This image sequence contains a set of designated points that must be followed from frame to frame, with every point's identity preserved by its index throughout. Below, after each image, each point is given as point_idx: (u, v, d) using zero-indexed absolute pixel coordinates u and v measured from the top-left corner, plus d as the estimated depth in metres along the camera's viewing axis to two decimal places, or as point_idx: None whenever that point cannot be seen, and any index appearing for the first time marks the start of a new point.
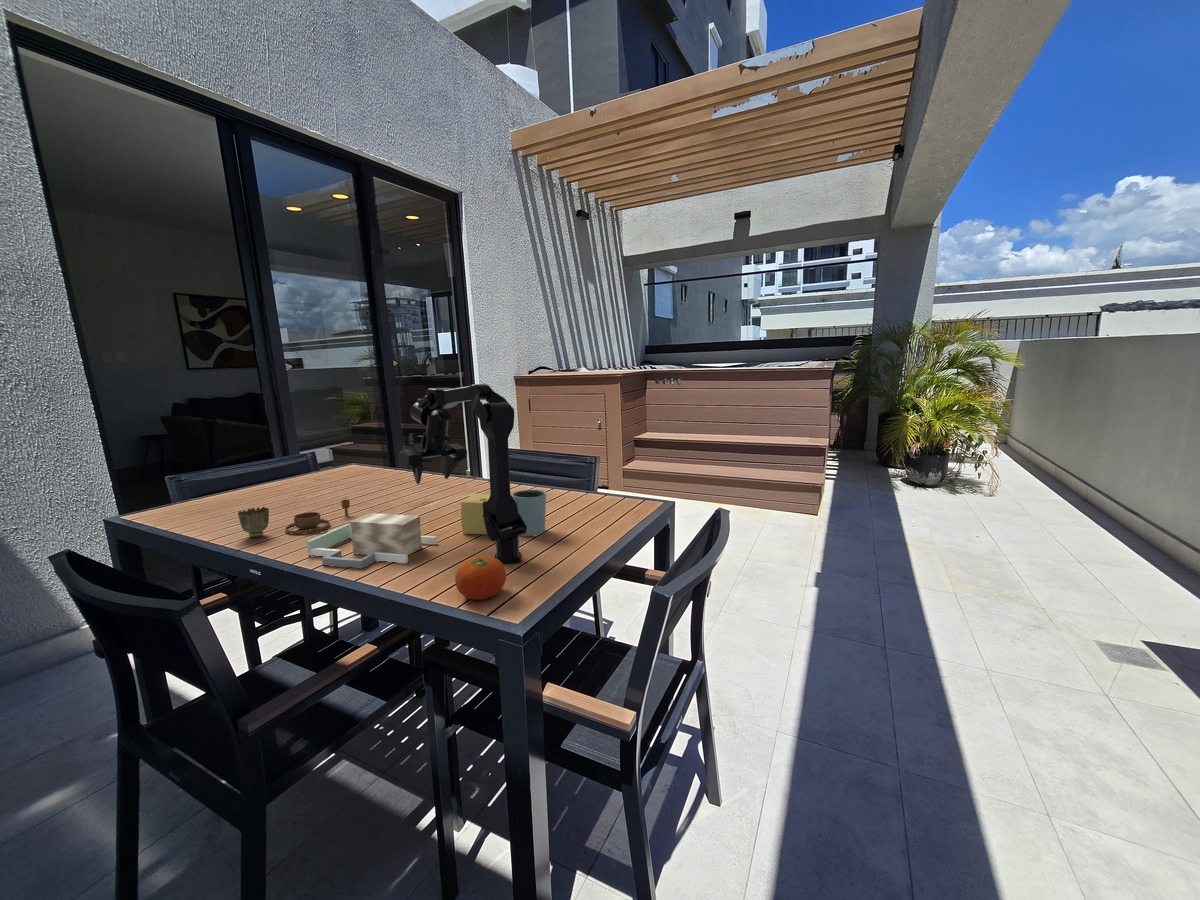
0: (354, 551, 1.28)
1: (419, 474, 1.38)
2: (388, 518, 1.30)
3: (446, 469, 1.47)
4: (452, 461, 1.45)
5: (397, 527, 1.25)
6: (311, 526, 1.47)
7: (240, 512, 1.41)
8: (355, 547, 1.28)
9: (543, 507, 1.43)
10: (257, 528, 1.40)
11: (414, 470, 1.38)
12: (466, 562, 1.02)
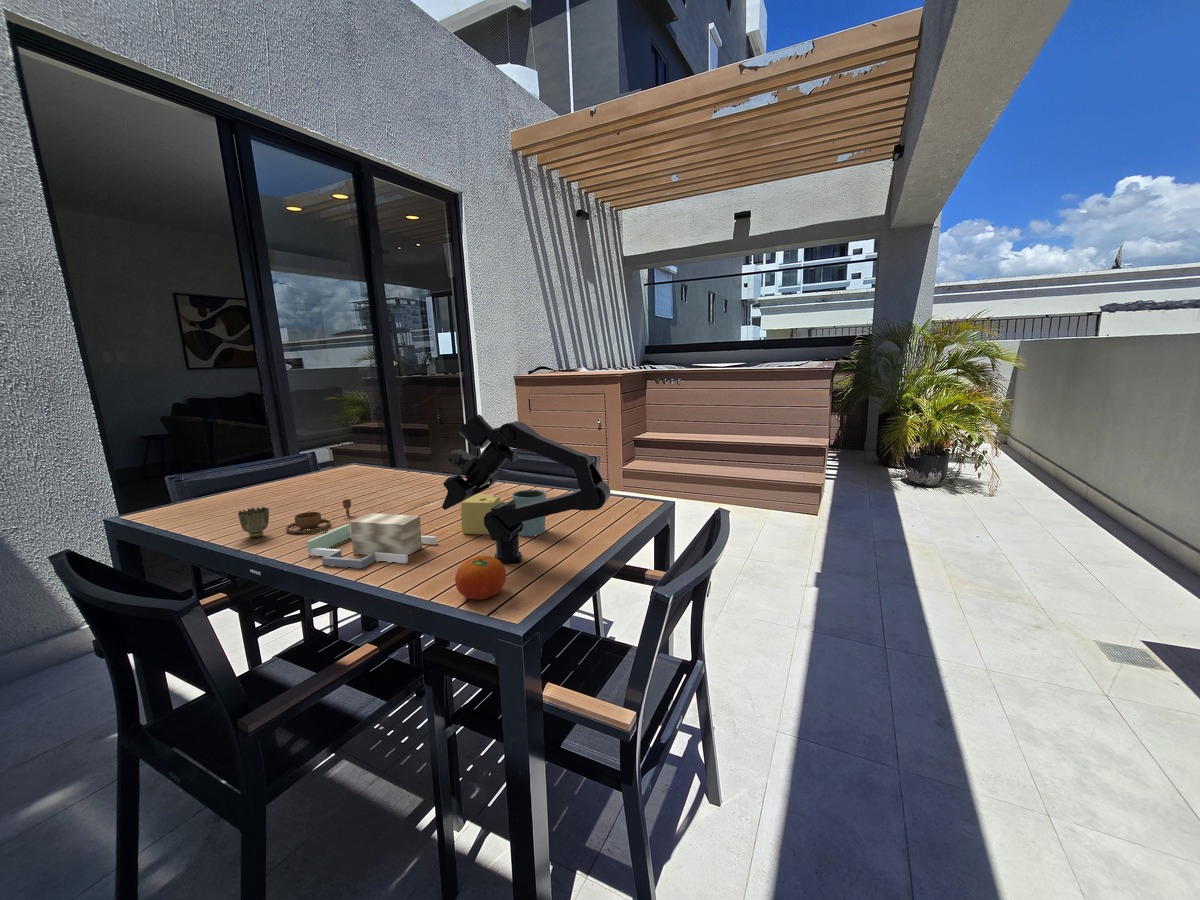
0: (354, 551, 1.28)
1: None
2: (388, 518, 1.30)
3: None
4: (480, 487, 1.29)
5: (397, 527, 1.25)
6: (312, 526, 1.48)
7: (240, 512, 1.41)
8: (355, 547, 1.28)
9: None
10: (257, 528, 1.40)
11: (450, 497, 1.19)
12: (466, 562, 1.02)
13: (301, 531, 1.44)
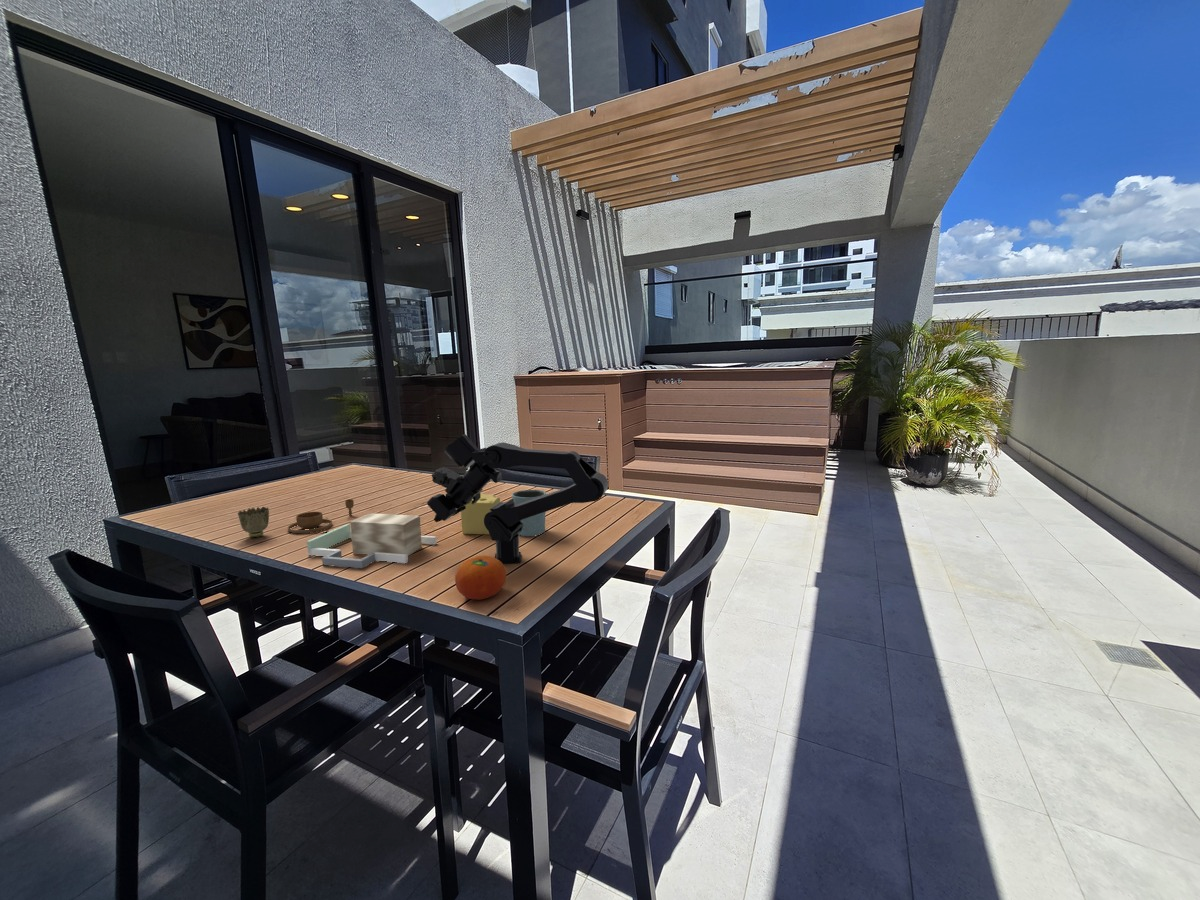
0: (354, 551, 1.28)
1: None
2: (388, 517, 1.30)
3: None
4: (456, 509, 1.26)
5: (398, 527, 1.25)
6: (313, 525, 1.48)
7: (240, 512, 1.41)
8: (355, 547, 1.28)
9: None
10: (257, 528, 1.40)
11: None
12: (466, 562, 1.02)
13: (302, 531, 1.45)
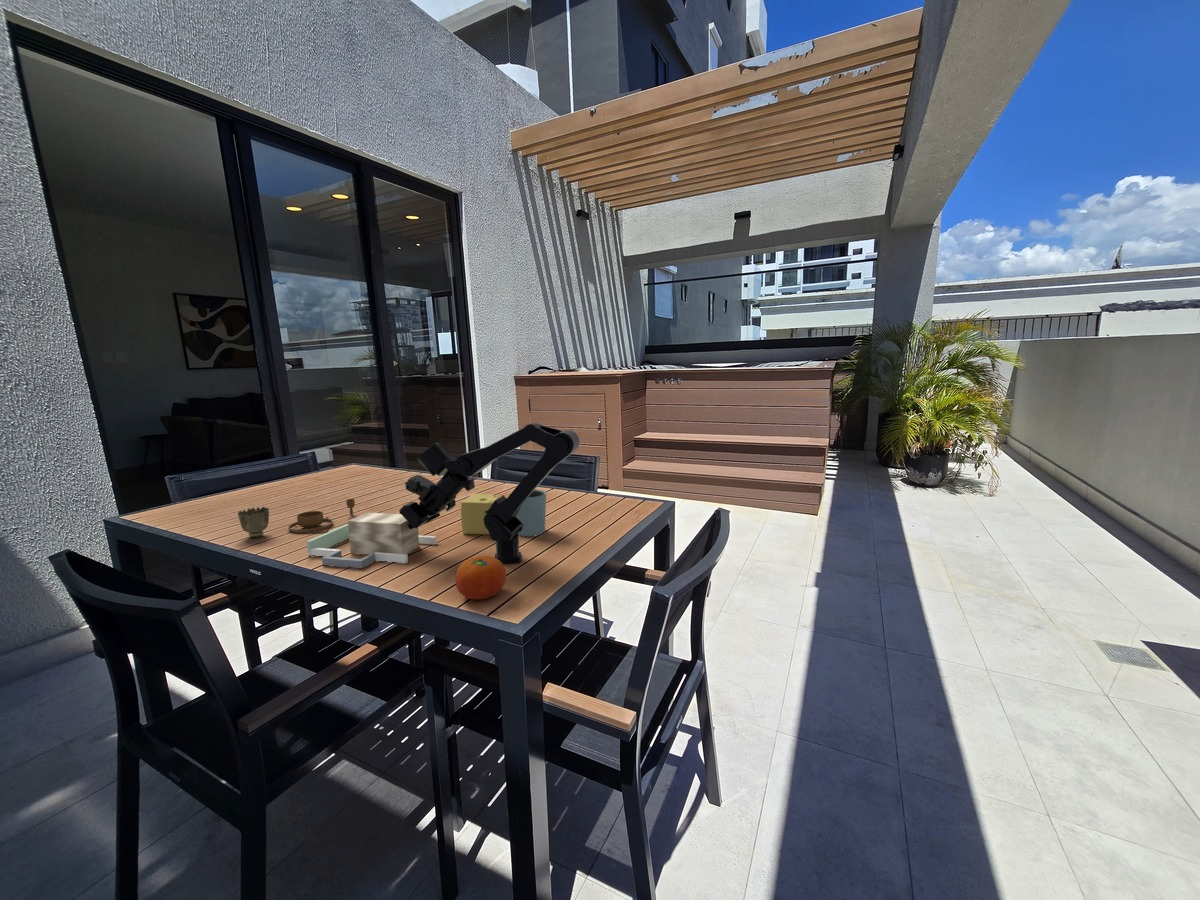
0: (351, 550, 1.28)
1: None
2: (385, 517, 1.30)
3: None
4: (430, 516, 1.28)
5: (395, 526, 1.25)
6: (313, 525, 1.48)
7: (240, 512, 1.41)
8: (352, 546, 1.28)
9: (543, 507, 1.43)
10: (257, 528, 1.40)
11: None
12: (466, 562, 1.02)
13: (302, 530, 1.45)
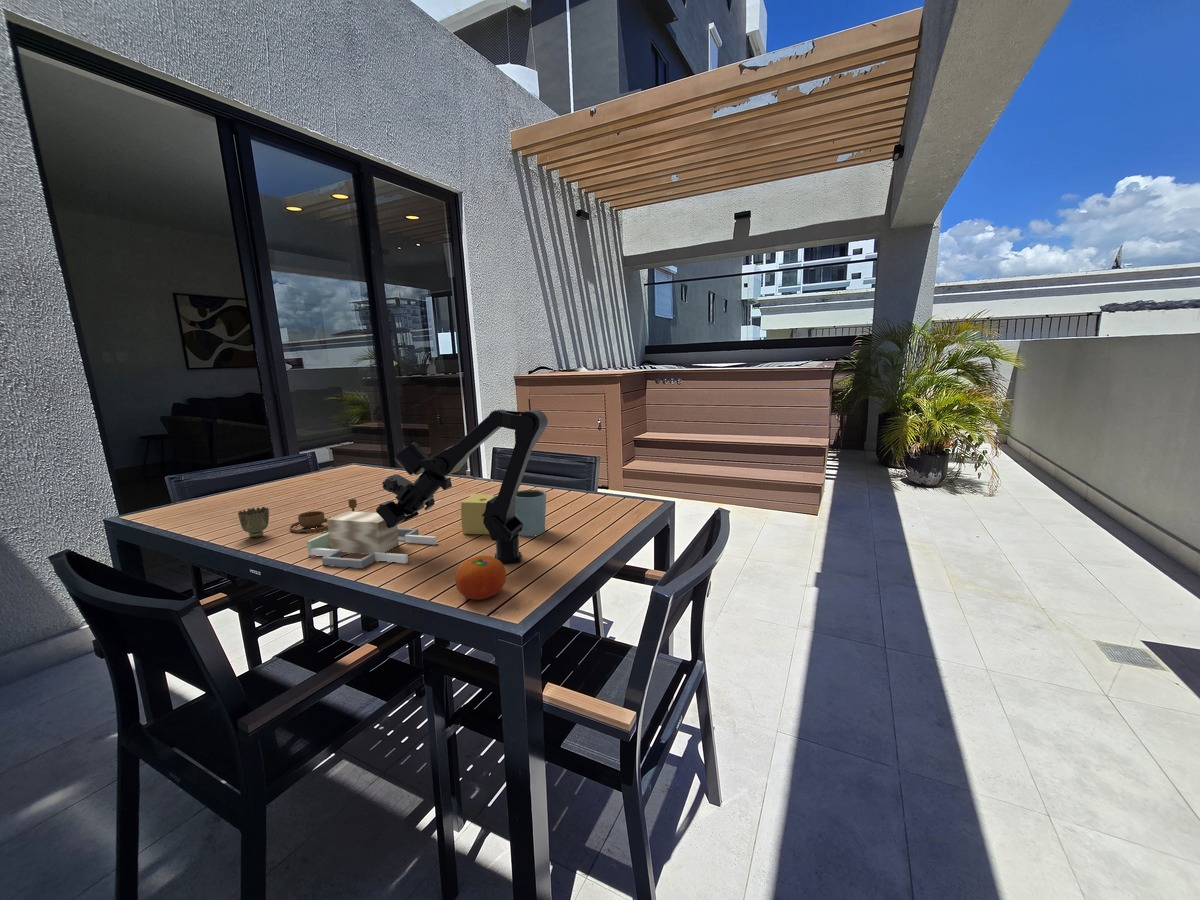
0: (331, 548, 1.30)
1: None
2: (365, 516, 1.32)
3: None
4: (408, 515, 1.29)
5: (372, 525, 1.26)
6: (314, 525, 1.49)
7: (240, 512, 1.41)
8: (332, 545, 1.30)
9: (543, 507, 1.43)
10: (257, 528, 1.40)
11: None
12: (466, 562, 1.02)
13: (303, 530, 1.45)
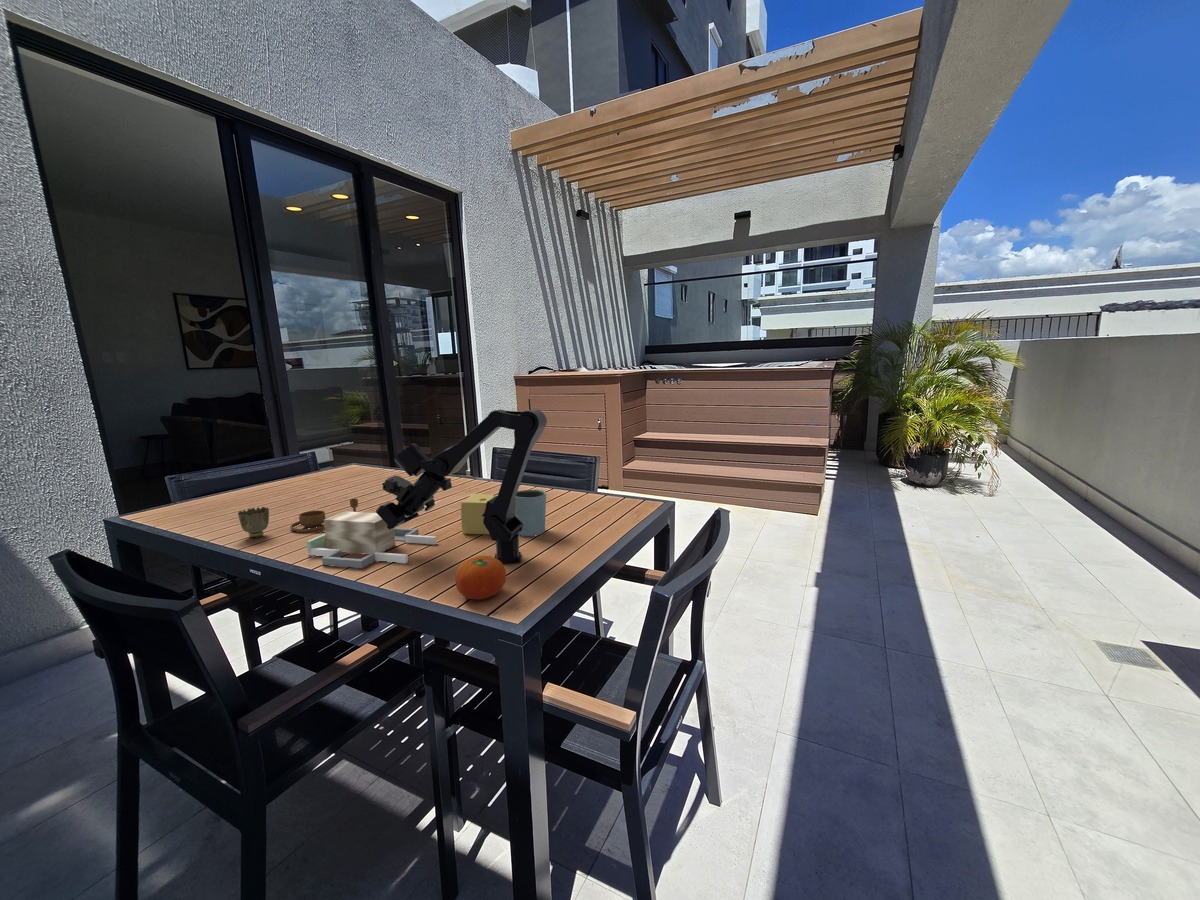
0: None
1: (399, 524, 1.28)
2: (361, 516, 1.32)
3: None
4: (408, 516, 1.29)
5: (369, 525, 1.26)
6: (315, 524, 1.49)
7: (240, 512, 1.41)
8: (328, 545, 1.30)
9: (543, 507, 1.43)
10: (257, 528, 1.40)
11: None
12: (466, 562, 1.02)
13: (303, 530, 1.46)
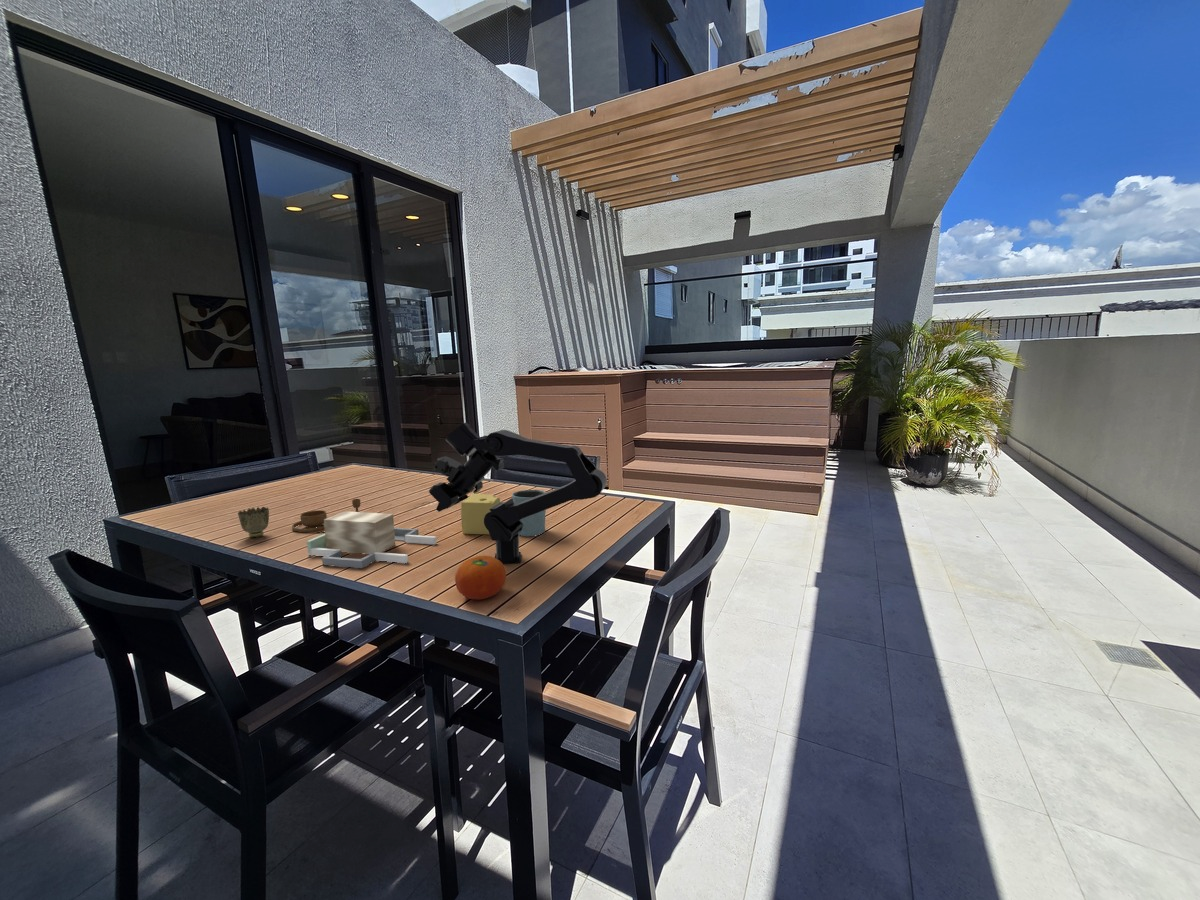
0: None
1: None
2: (361, 516, 1.32)
3: None
4: (458, 498, 1.25)
5: (369, 525, 1.27)
6: (315, 524, 1.49)
7: (240, 512, 1.41)
8: (328, 545, 1.30)
9: None
10: (257, 528, 1.40)
11: None
12: (466, 562, 1.02)
13: (304, 529, 1.46)
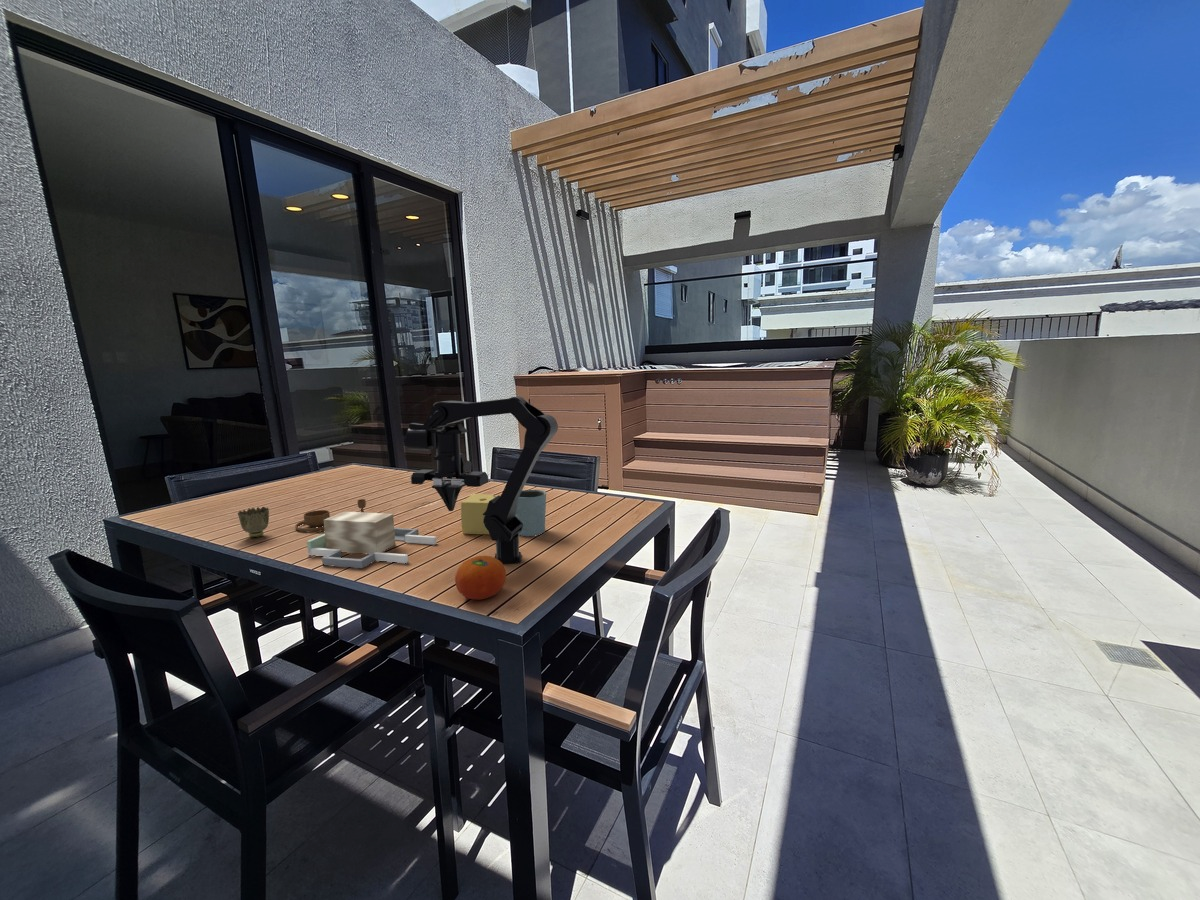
0: None
1: (443, 498, 1.23)
2: (361, 516, 1.32)
3: None
4: None
5: (370, 525, 1.27)
6: (317, 524, 1.49)
7: (240, 512, 1.41)
8: (328, 545, 1.30)
9: (543, 507, 1.43)
10: (257, 528, 1.40)
11: None
12: (466, 562, 1.02)
13: (305, 529, 1.46)
